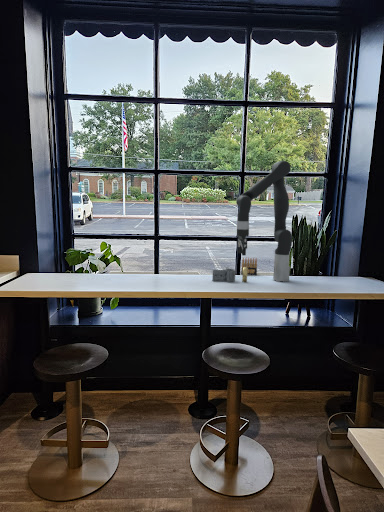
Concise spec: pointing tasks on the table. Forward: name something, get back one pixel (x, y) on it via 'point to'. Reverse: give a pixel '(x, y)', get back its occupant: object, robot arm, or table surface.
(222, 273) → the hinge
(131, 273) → the table surface
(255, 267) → the ammunition clip
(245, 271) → the hinge pin
